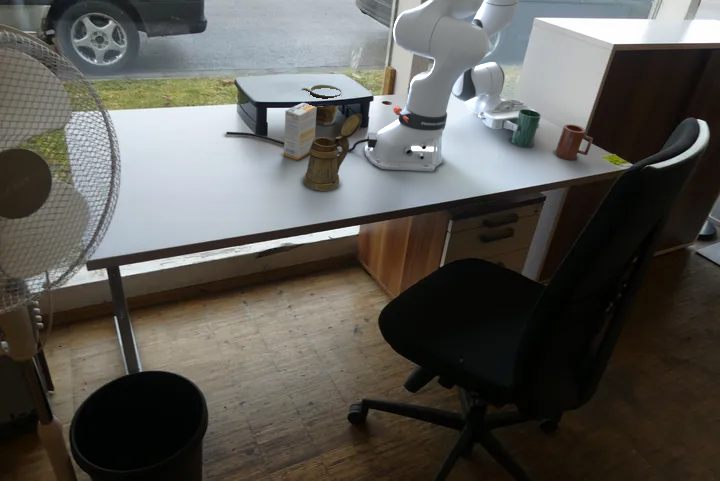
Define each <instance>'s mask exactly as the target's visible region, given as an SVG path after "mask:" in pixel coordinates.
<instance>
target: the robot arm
mask: <svg viewBox="0 0 720 481" xmlns="http://www.w3.org/2000/svg"><path fill="white" fill-rule="evenodd" d="M518 6H519V0H426V1H424V2H423V3H421V4H419V5H417V6H415V7H412V8H408V9H405V10H404V11H402V12H401V13H400V14H399V16H397V18H396V20H395V22H394V26H393V39H394V41H395V44H396V45H397V47H399V48H401V49H403V50H405V51H406V52H408V53H410V54H412V55H415V56H416V55H417V56H420V57H423V58H427V59H430V60H433V66H432V68H431V69H430V70H429V69H428V70H426V71H422V72H419V73H418V74H415V76H413V77H412V79H411V81H410V85H409V89H408V96H407V102H406V105H405V106H404V108H403V109H402V108H401V107H400V106H398V105H395V106H394V107H393V109H392V111H393V113H394V114H395V115H396V116H398V118H397V119H396V120H395V121H393V122H391V123H390V124H388V125H386V126H385V127H384V128H381V129H380V130H378V131H377V132H373V131H372V132H371V131H368V132H367V137H366V138H363V139H360V140H357V141H356V142H355V143H354V144H353V145H352V147H351V148H349V150H348V153H351V152H353V151H354V150H355V149H356V147H357V145H359V144H362V143H367V144H366V146H365V147H364V154H365V157H366V158H367V159H368V161H369V162H370V163H371V164H372V165H374V166H375V167H377V168H379V169H381V170H394V171H413V172H414V171H415V172H416V171H417V172H434V171H435V169H436V167H438V166H439V165H440V164H441V163H442V162H443V154H442V153H443V152H442V143H443V133H444V132H443V131H444V130H445V128H446V124H447V119H448V112H447V111H448V107H449V103H450V99H451V95H452V94H453V96H454V97H455V98H457V99H458V100H459V101H462V102H463V103H464V105H465V106H466V107H467V108H468V109H469V110H470V111H471V112H473V114H475V115H477V118H479V119H481V122H482V123H483V124H484V125H485V126H486V127H488V128H489V129H491V130H500V129H507V130H511V131H513V132H514V131H519V130H520V125H518V124H516V121H517V118H518V114H519V111H520V110H522V109H528V110H533V111H536V112H538V111H537V110H535V109H534V108H532V107H531V106H528V105H526V104H524V102H523V101H521V100H515V99H509V98H506V97H503V96H501V95H502V91H503V89H504V84H505V80H506V76H505V72H504V70H503V68H502V67H501V65H500V64H498V63H497V62H495V61H489V62H485V63H481V62H483V60H484V59H485V57H486V56H487V53H488V50H489V47H490V46H489V45H490V41H489V40H490V39H491V38H492V37H494V36H495V35H497V34H498V33H500V32H501V31H503V30H505V29H506V28H507V27H509V25H511V24H512V22H513V21H514V19H515V17H516V14H517V11H518ZM473 15H474V17H473V19H472V20H471V21H469V20H465V19H466V18H470V17H472V16H473ZM480 63H481V64H480ZM539 128H540V123H539V124H538V127H537V130H538V129H539ZM226 135H230V136H247V137H248V136H249V137H255V138H259V139H263V140H266V141H270V142H273V143H277V144H280V145H283V146H284V141H282V140H279V139H275V138H271V137H269V136H265V135H261V134H256V133H251V132H242V131H241V132H240V131H226ZM341 152H342V150H341V151H339V153H338V155H340V154H341Z"/></svg>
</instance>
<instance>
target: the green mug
mask: <svg viewBox="0 0 720 481" xmlns="http://www.w3.org/2000/svg"><path fill="white" fill-rule="evenodd" d="M536 111H537V110H535V111H533V110H528V109H522V110H520V111H519V114H518V118H517V121H516V124H518V125H520V130H519V131H513V132H512V136H511V139H510V142H511V143H512V144H513V145H515V146H517V147H522V148H530V147H532V145H533V143H534V141H535V138H536V134H537V130H538V129H537V127H538V124H540V120H541V117H542V114H541V113H540V112H538V111H537V112H536Z"/></svg>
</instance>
